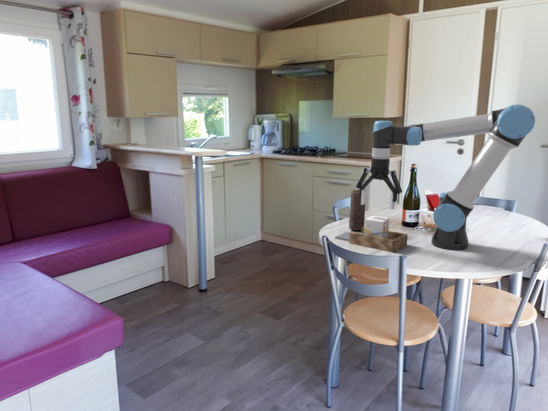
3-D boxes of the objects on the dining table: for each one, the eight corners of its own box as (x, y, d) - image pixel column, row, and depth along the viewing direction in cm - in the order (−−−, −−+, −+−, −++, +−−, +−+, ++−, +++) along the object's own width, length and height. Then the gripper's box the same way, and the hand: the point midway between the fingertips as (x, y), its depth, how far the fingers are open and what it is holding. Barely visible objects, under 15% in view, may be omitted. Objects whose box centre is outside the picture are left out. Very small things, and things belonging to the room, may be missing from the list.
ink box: (381, 247, 190) (383, 221, 187) (363, 244, 194) (364, 218, 192) (388, 242, 197) (389, 217, 195) (370, 239, 202) (371, 214, 199)
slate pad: (361, 236, 206) (361, 234, 206) (350, 241, 198) (350, 239, 198) (346, 233, 211) (346, 231, 211) (335, 238, 203) (335, 236, 203)
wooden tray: (406, 244, 194) (407, 234, 193) (394, 252, 184) (395, 241, 183) (363, 236, 207) (363, 225, 205) (349, 243, 196) (349, 232, 195)
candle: (363, 232, 212) (366, 191, 208) (348, 231, 214) (350, 191, 209) (364, 228, 220) (366, 188, 215) (349, 227, 221) (350, 188, 217)
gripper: (412, 159, 183) (408, 209, 187) (358, 154, 198) (355, 201, 202) (405, 161, 177) (401, 212, 182) (350, 156, 192) (347, 203, 197)
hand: (377, 206), depth 192 cm, fingers open, 13 cm apart
